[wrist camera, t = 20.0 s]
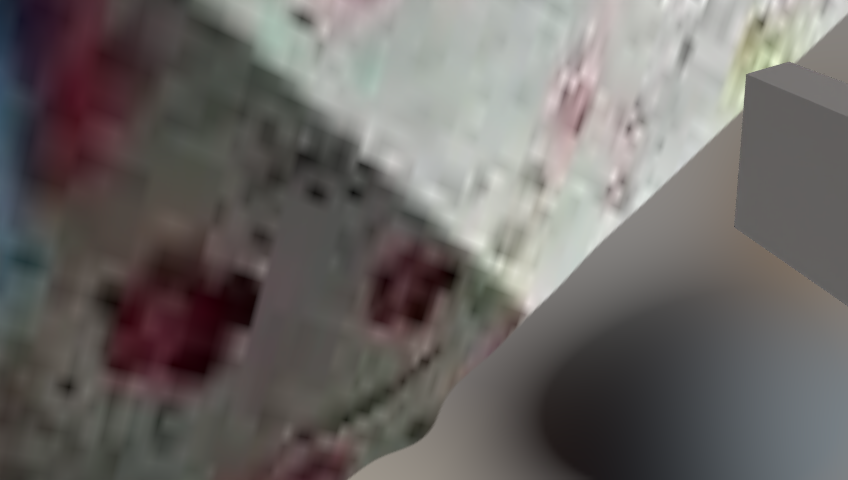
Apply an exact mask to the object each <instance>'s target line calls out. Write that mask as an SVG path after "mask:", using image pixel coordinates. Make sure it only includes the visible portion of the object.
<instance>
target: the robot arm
mask: <svg viewBox="0 0 848 480" xmlns="http://www.w3.org/2000/svg"><path fill="white" fill-rule="evenodd" d="M734 227H735V228H736V229H738V230H739V231H741V232H742V233H743V234H745V235H746V236H748V237H749V238H751V239H752V240H753V241H755V242H756V243H758V244H759V245H761V246H762V247H764V248H765V249H766V250H768V251H769V252H771V253H772V254H774V255H775V256H777V257H778V258H779V259H781V260H782V261H784V262H785V263H787V264H788V265H789V266H791V267H792V268H794V269H795V270H797V271H798V272H799V273H801V274H802V275H804V276H805V277H807V278H808V279H809V280H811V281H812V282H814V283H815V284H817V285H818V286H820V287H821V288H823V289H824V290H826V291H827V292H828V293H830V294H831V295H832V296H834V297H835V298H837V299H838V300H840V301H841V302H843V303H844V304H845V305H847V306H848V83H845V82H842V81H840V80H837V79H834V78H832V77H829V76H826V75H823V74H821V73H818V72H816V71H813V70H810V69H807V68H805V67H802V66H799V65H797V64H794V63H791V62H787V63H783V64H780V65H776V66H773V67H769V68H766V69H762V70H759V71H755V72H752V73H748V74H746V84H745V97H744V110H743V123H742V135H741V148H740V161H739V174H738V186H737V199H736V211H735V225H734Z"/></svg>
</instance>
